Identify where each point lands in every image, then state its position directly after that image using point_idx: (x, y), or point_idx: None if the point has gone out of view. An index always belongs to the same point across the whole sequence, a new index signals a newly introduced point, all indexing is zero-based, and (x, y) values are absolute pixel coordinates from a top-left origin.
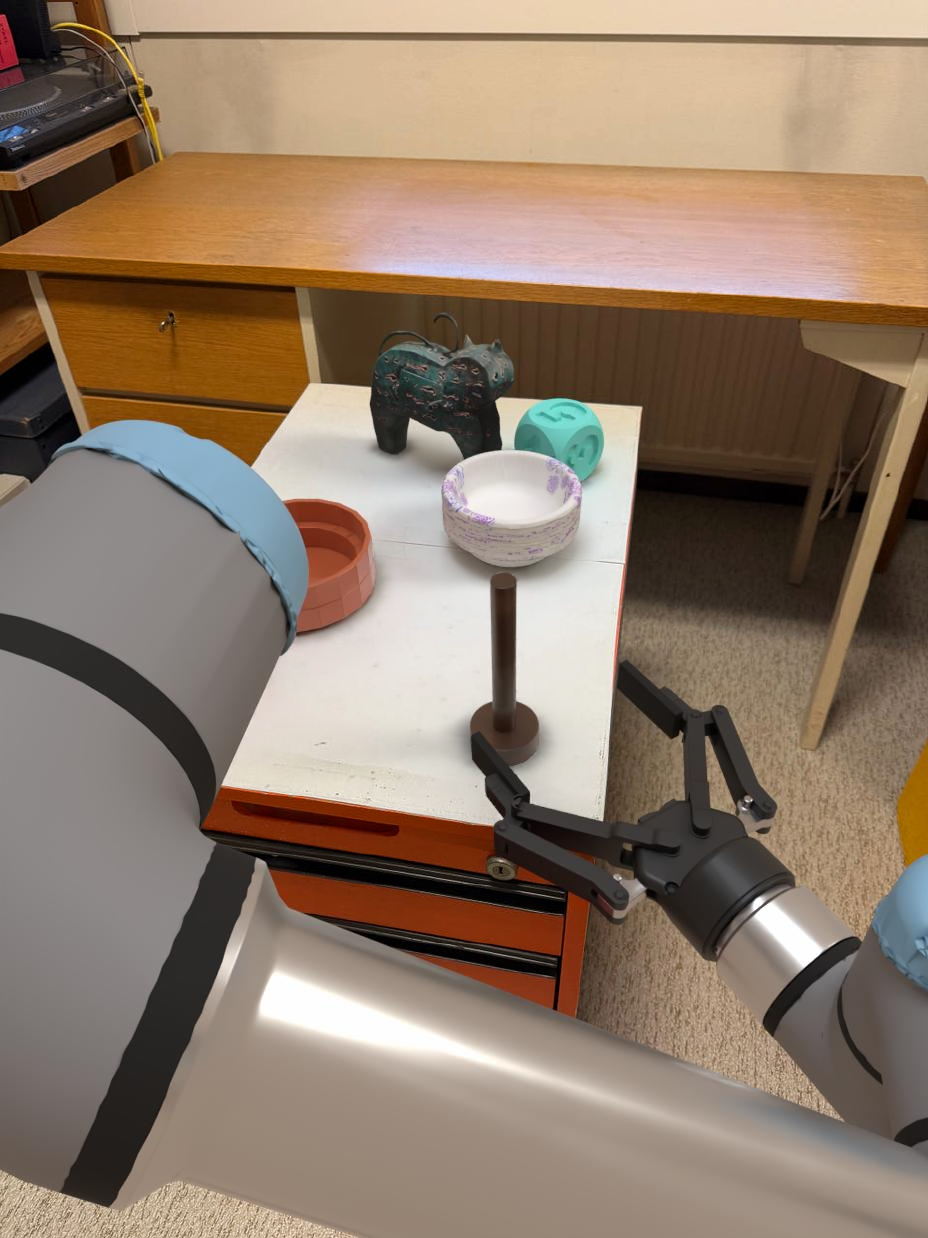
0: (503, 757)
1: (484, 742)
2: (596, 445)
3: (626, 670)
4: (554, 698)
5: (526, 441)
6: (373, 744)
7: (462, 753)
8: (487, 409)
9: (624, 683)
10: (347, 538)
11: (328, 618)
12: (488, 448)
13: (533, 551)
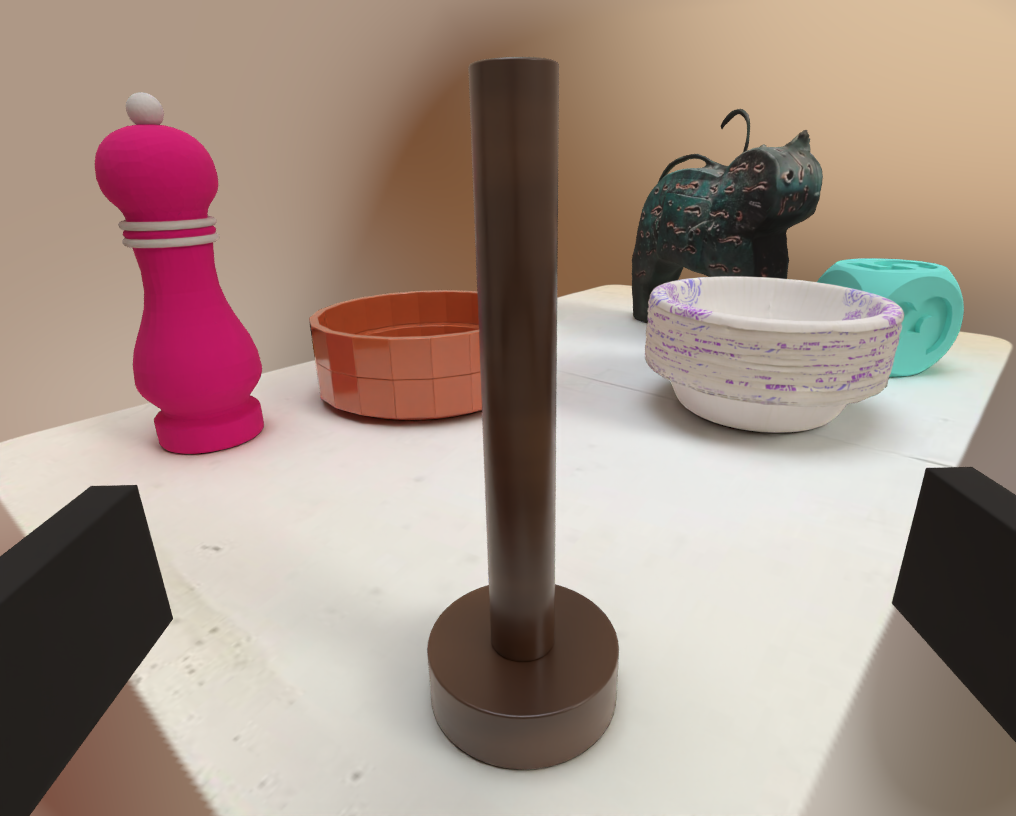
0: (465, 726)
1: (73, 521)
2: (947, 323)
3: (962, 497)
4: (709, 646)
5: None
6: (278, 582)
7: (406, 674)
8: (769, 237)
9: (937, 576)
10: None
11: (408, 406)
12: None
13: (775, 386)
